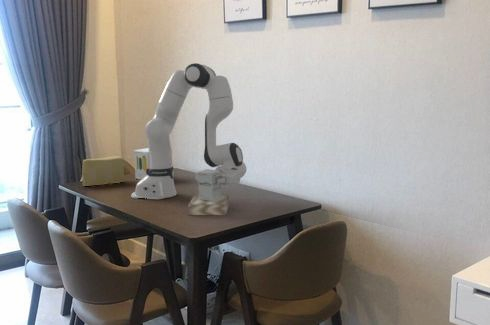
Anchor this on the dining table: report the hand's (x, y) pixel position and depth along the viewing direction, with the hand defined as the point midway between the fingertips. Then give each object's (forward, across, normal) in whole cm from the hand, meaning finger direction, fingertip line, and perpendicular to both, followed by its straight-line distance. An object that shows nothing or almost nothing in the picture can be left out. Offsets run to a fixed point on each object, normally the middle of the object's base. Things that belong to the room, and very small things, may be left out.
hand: (207, 180), depth 222 cm
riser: (-1, 0, +14) cm, 14 cm away
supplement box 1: (-45, -68, +14) cm, 82 cm away
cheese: (-22, -84, +14) cm, 88 cm away
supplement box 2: (-1, 0, +9) cm, 9 cm away
